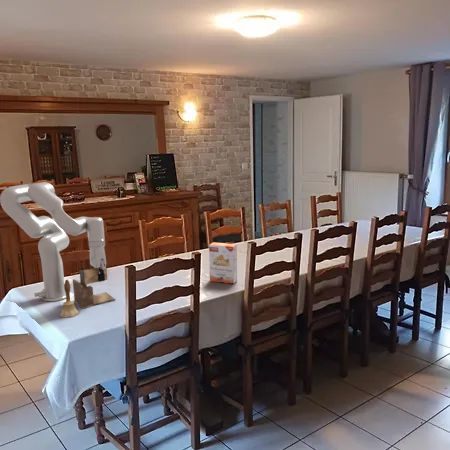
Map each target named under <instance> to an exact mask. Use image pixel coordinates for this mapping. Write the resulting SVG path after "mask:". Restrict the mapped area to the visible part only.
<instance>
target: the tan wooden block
mask: <svg viewBox="0 0 450 450" xmlns="http://www.w3.org/2000/svg"><path fill="white" fill-rule="evenodd" d="M100 269H101V268H100ZM78 271H79V278H80V282H81V284H82V285H85V284H87V285H89V284H90V285H91V284H95V283H98V282H99V281H98V268H94V267H93V268H89V269H83V270H82V269H79V270H78ZM104 271H105V281H108V270H107V267H106V266H105V270H104ZM99 283H100V282H99Z"/></svg>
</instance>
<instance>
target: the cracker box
mask: <svg viewBox="0 0 450 450" xmlns="http://www.w3.org/2000/svg"><path fill="white" fill-rule="evenodd" d="M237 245H238V244H237V243H236V244H235V243H225V242H214V241H213V242H211V243H210V244H209V245H208V248H209V249H208V250H209V251H208V252H209V254H208V256H209V257H208V258H209V259H208V261H209V282H214V283H220V282H224V283H223V284H228V283H234V284H235V283H236V282H237V281H238V249H237V248H238V246H237Z"/></svg>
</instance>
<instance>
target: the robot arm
mask: <svg viewBox="0 0 450 450" xmlns="http://www.w3.org/2000/svg"><path fill="white" fill-rule="evenodd" d="M30 201H33V202H34V203H36V204H37V205H38V206H39V207H41V208H42V209H43V210H44V211H46V212H47V213H49V214H50V216H51V217H50V216H46V215H41V216H37V215H35V214H34V213H33V212H32V211H31V210H30V209H29V208H28V207H27V206H25V205H23V204H21V203H25V202H30ZM0 206H1V208H2V209H3V211H4V212H5V214H7V216H9V217H10V218H11V219H12V220H13V221H14V222H15V223H16V224H17V225H18V227H20V228H21V230H23V232H24V233H25V234H26V235H28V237H30V238H31V239H38V238H41V237H42V238H41V239H40V240H39V241H38V245H37V249H38V253H39V256H40V257H39V258H40V261H41V268H42V269H41V271H42V279H43V280H42V281H43V289H42V290H41V291H38V292H34V297H35V298H36V297H38V298H41V300H42V301H44V302H58V301H61V300H66V292H65V289H64V284H65V276H64V264H63V260H62V256H61V254H60V252H61V251H63V250H65V249H67V247H68V246H69V244H70V239H69V238H70V237H69V236H68V235H71V236H76V237H77V236H78V235H81V234H84V233H86V232H87V239H88V248H89V264H90V266H92V267H93V268H98V281H99V283H101V282H104V281H106V280H105V271H104V270H105V267H106V266H107V258H106V249H105V246H106V239H105V228H104V227H105V226H104V220H103V218H102V217H100V216H99V217H98V216H97V217H96V216H95V217H93V216H92V217H89V216H85V215H84V216H78V217H75V218H73V217H71V216H70V215H68V214H67V213H66V212H65V210H64V208H63V207H64V200H63V199H62V198H60V197H58V196H57V195H56V191H55V187H54V185H52V184H51V183H49V182H47V181H43V182H36V183H26V184H19V185H13V186H9V187H7V188H5V189H3V190H2V191H1V194H0ZM100 268H101V269H100Z"/></svg>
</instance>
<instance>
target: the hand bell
mask: <svg viewBox="0 0 450 450" xmlns="http://www.w3.org/2000/svg"><path fill="white" fill-rule="evenodd" d="M64 289H65V292H66V298H65V301H64V302H63V303H62V304H63V305H62V310H61V312H60V313H59V317H60V318H72V317H76V316H77V315H79V314H80V312H79V310H77V308H76V305H75V303H74V302H75V301H72V300H71V295H70V293H71V283H70V280H69V279H64Z"/></svg>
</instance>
